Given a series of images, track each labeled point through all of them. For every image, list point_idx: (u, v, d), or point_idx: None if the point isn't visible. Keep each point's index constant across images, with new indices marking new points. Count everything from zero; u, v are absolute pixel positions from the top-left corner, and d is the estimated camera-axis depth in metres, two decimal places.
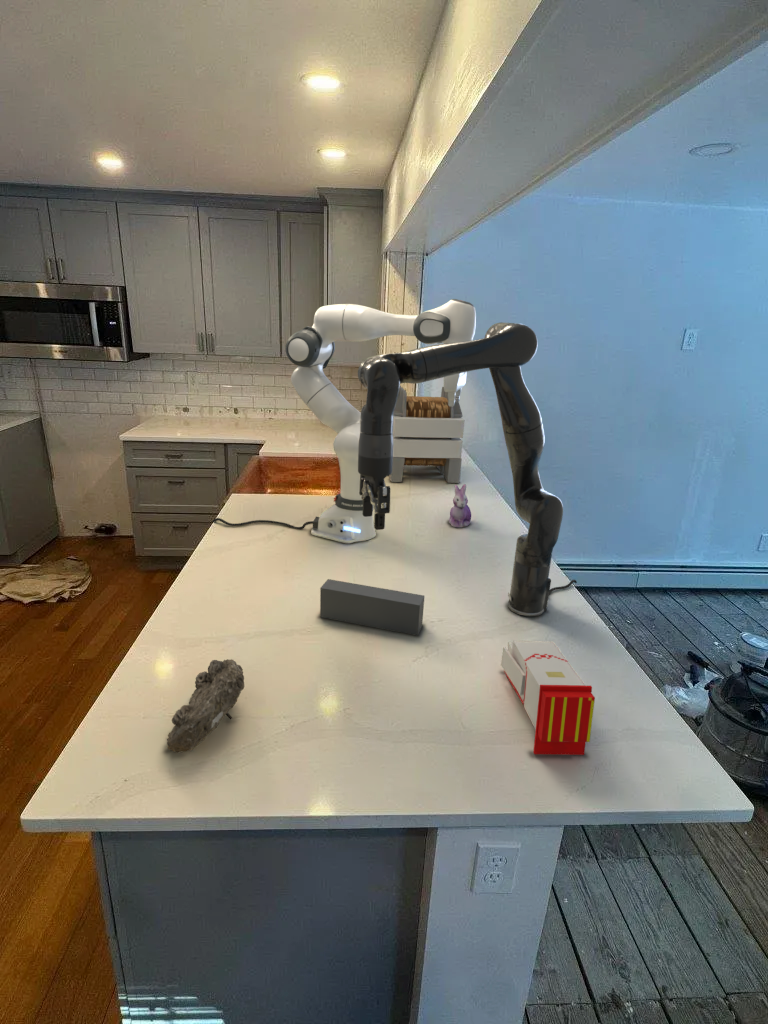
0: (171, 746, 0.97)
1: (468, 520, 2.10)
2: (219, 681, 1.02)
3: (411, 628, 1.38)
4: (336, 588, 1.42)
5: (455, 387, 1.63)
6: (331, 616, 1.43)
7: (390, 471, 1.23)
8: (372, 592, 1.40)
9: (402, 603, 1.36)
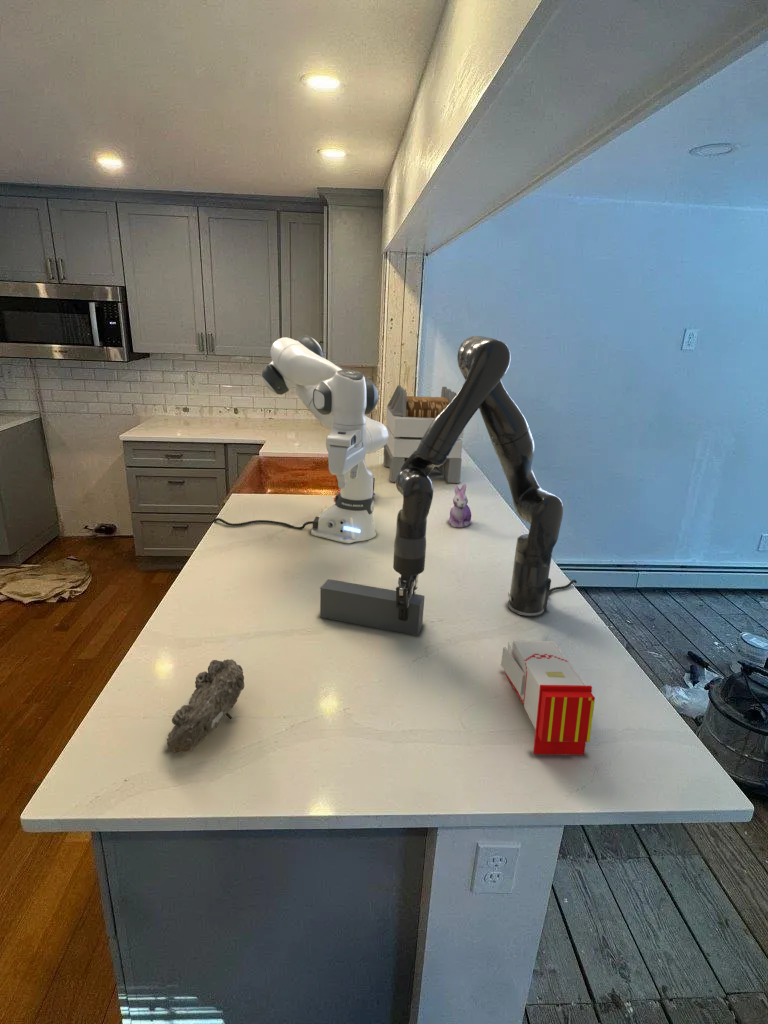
0: (171, 746, 0.97)
1: (468, 520, 2.10)
2: (219, 681, 1.02)
3: (411, 628, 1.38)
4: (336, 588, 1.42)
5: (341, 470, 1.45)
6: (331, 616, 1.43)
7: (417, 571, 1.33)
8: (372, 592, 1.40)
9: None
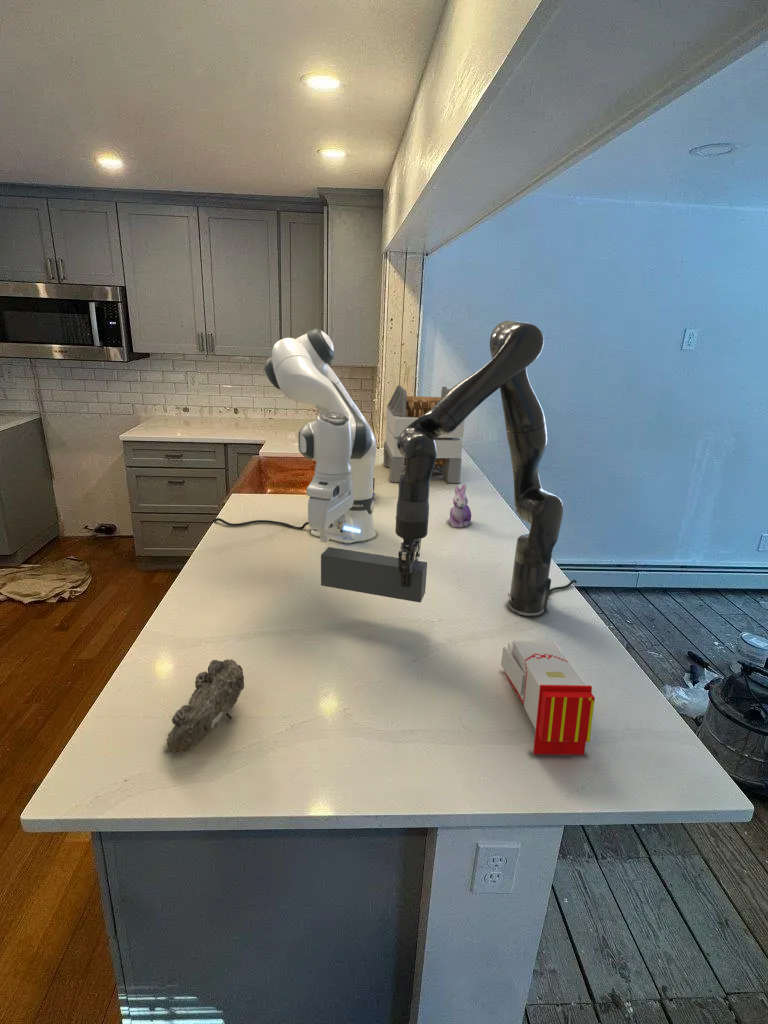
0: (171, 746, 0.97)
1: (468, 520, 2.10)
2: (219, 681, 1.02)
3: (413, 594, 1.35)
4: (337, 555, 1.39)
5: (322, 525, 1.30)
6: (332, 585, 1.40)
7: (420, 535, 1.30)
8: (374, 559, 1.37)
9: None
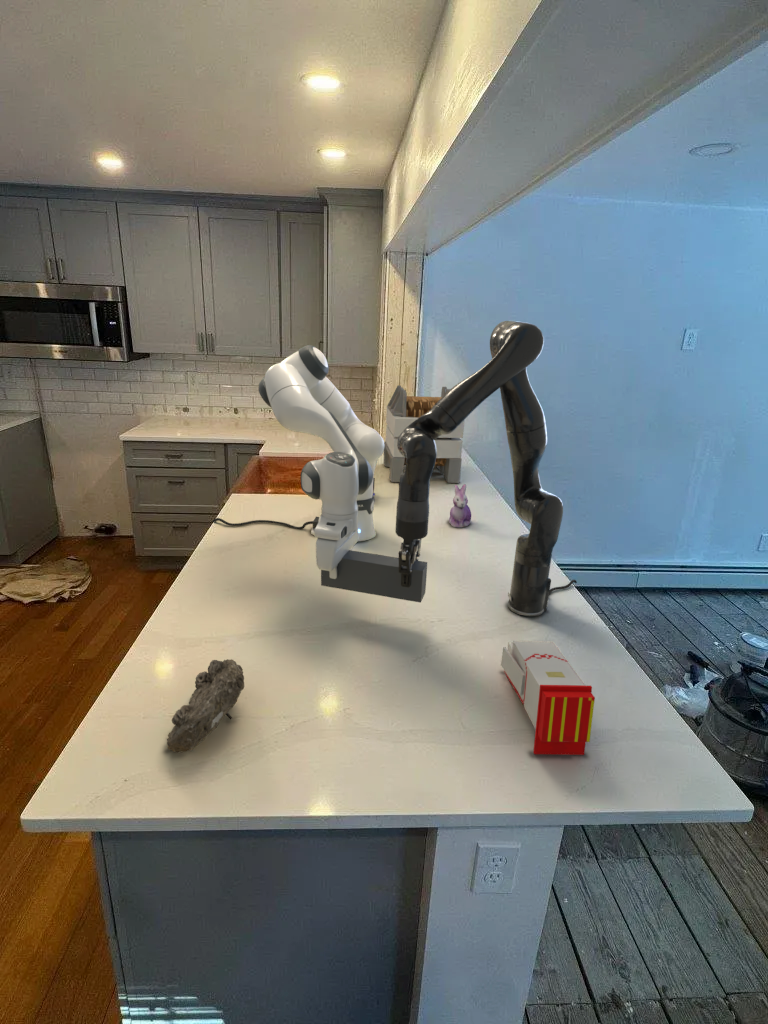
0: (171, 746, 0.97)
1: (468, 520, 2.10)
2: (219, 681, 1.02)
3: (413, 594, 1.35)
4: None
5: (330, 566, 1.30)
6: (332, 585, 1.40)
7: (420, 535, 1.30)
8: (374, 559, 1.37)
9: None
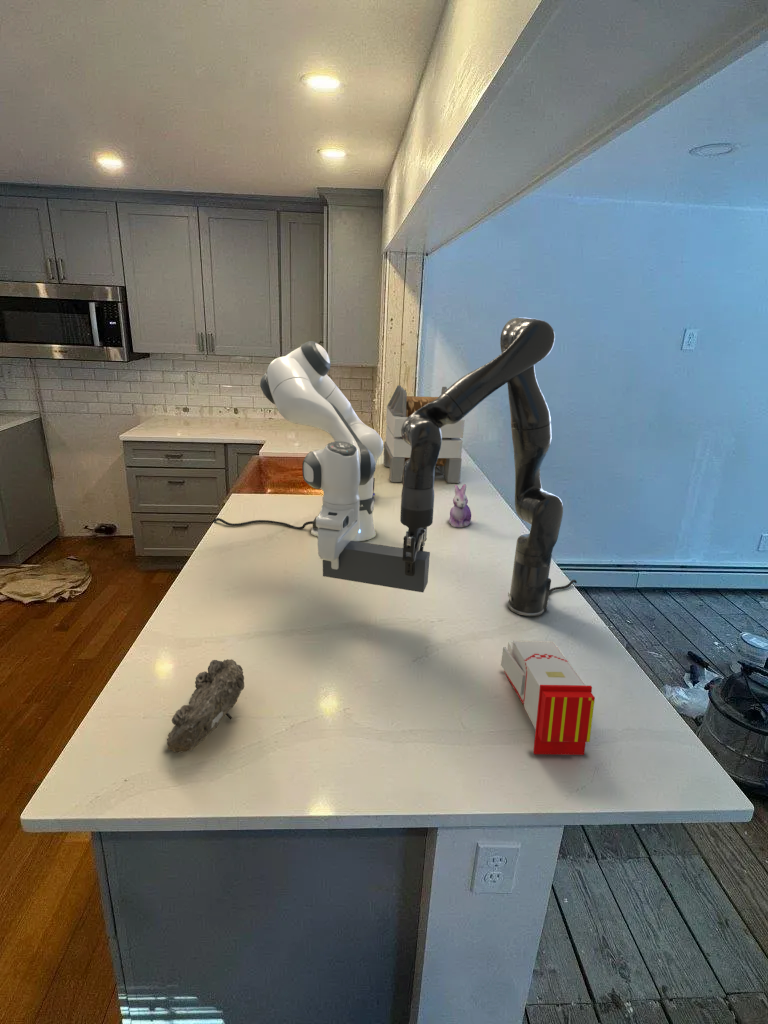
0: (171, 746, 0.97)
1: (468, 520, 2.10)
2: (219, 681, 1.02)
3: (416, 584, 1.34)
4: None
5: (332, 556, 1.29)
6: (334, 575, 1.40)
7: (425, 524, 1.28)
8: (376, 549, 1.36)
9: None
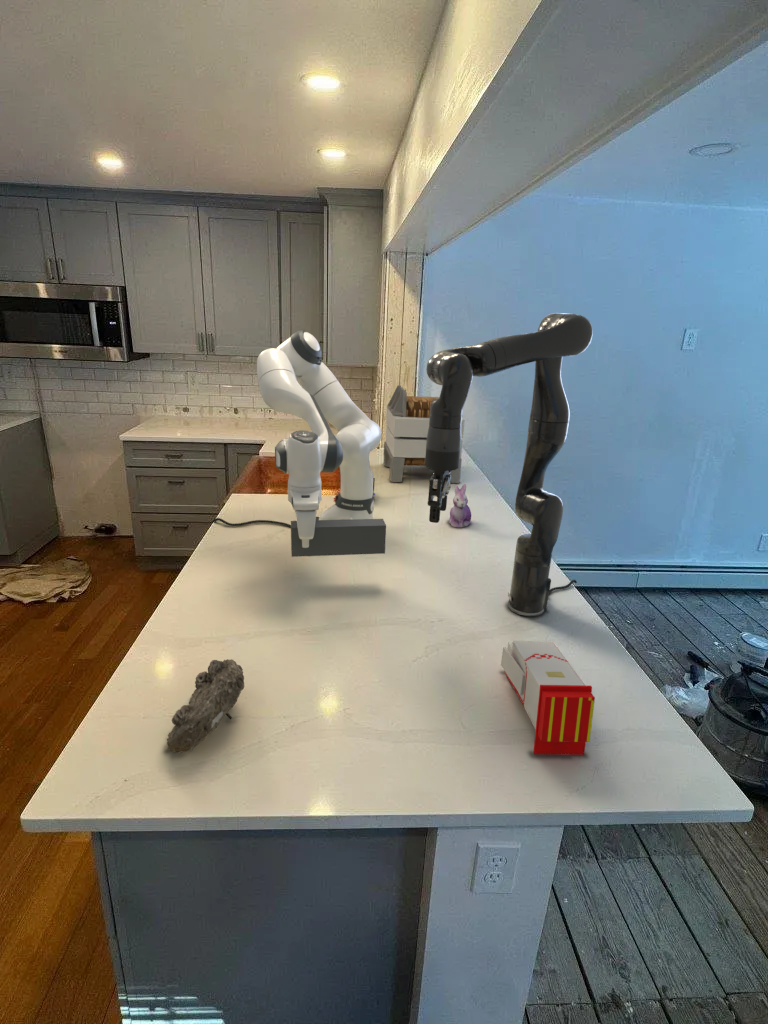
0: (171, 746, 0.97)
1: (468, 520, 2.10)
2: (219, 681, 1.02)
3: (378, 547, 1.56)
4: None
5: (312, 534, 1.43)
6: (303, 554, 1.53)
7: (451, 466, 1.22)
8: (339, 523, 1.54)
9: (370, 526, 1.53)
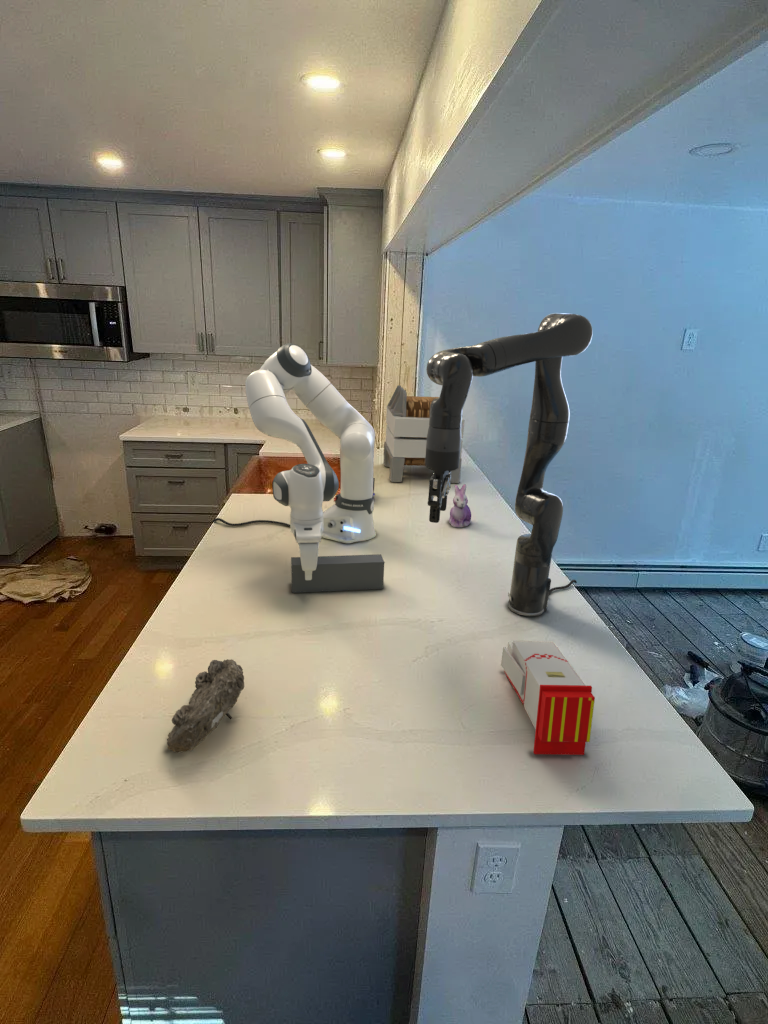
0: (171, 746, 0.97)
1: (468, 520, 2.10)
2: (219, 681, 1.02)
3: (377, 583, 1.59)
4: None
5: (315, 566, 1.46)
6: (303, 590, 1.56)
7: (451, 466, 1.22)
8: (338, 560, 1.57)
9: (369, 563, 1.57)
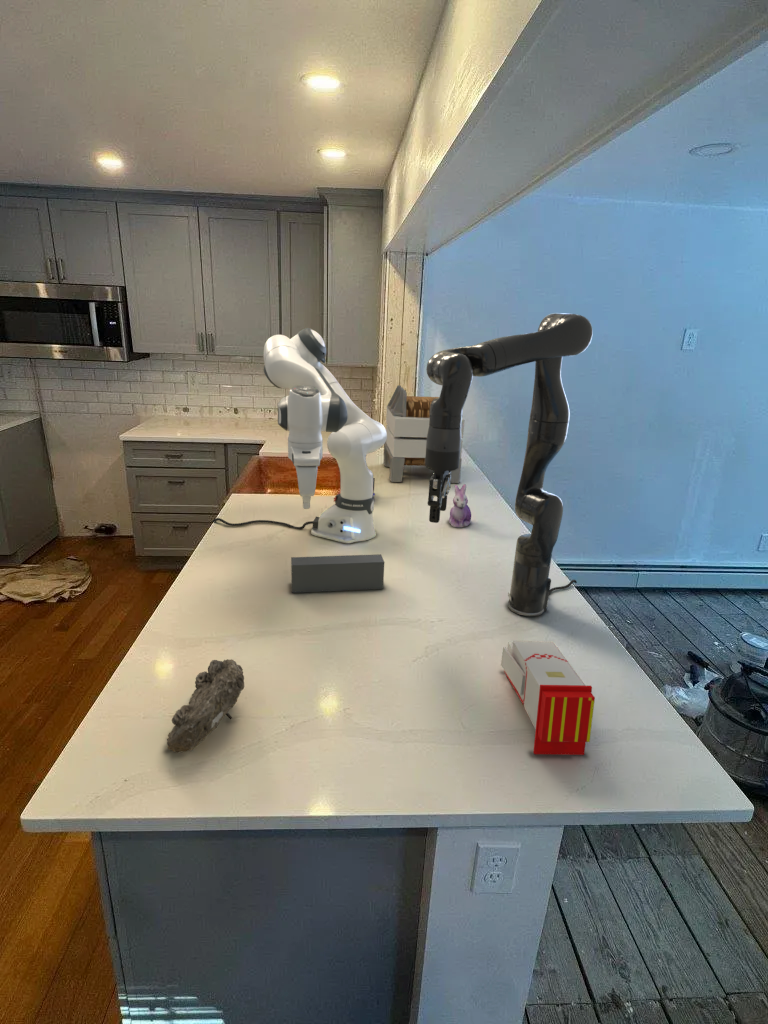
0: (171, 746, 0.97)
1: (468, 520, 2.10)
2: (219, 681, 1.02)
3: (377, 583, 1.59)
4: (305, 562, 1.55)
5: (313, 491, 1.39)
6: (303, 590, 1.56)
7: (451, 466, 1.22)
8: (338, 560, 1.57)
9: (369, 563, 1.57)
